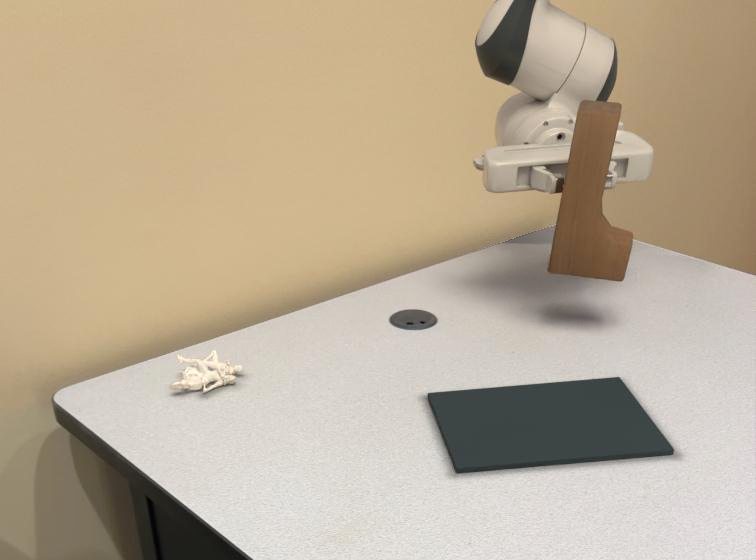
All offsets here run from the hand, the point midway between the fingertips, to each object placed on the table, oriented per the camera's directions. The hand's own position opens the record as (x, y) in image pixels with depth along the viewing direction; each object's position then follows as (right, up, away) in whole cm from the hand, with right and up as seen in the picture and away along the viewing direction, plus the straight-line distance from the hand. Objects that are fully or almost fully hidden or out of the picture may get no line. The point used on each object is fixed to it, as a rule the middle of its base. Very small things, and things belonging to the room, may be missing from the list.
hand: (584, 184), depth 103 cm
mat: (-7, -29, -8) cm, 31 cm away
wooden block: (+2, -8, +5) cm, 10 cm away
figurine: (-44, -22, +3) cm, 49 cm away
